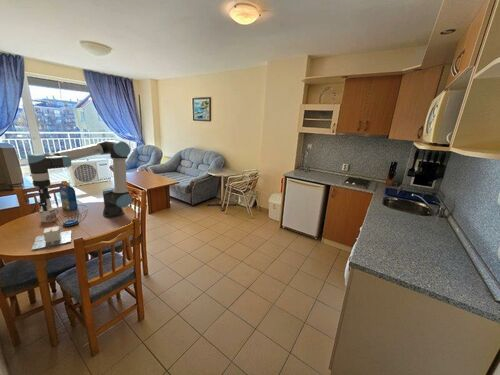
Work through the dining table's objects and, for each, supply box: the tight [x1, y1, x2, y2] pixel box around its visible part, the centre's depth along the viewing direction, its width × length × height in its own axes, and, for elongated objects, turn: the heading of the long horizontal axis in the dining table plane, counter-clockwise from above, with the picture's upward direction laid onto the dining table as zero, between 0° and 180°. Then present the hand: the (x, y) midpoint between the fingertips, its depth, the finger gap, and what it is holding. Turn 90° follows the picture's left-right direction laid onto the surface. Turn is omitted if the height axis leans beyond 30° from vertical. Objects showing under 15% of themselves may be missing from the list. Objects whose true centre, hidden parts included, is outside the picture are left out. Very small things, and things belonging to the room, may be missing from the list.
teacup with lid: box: [38, 207, 59, 223], centre depth 164 cm, size 12×9×12 cm
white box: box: [43, 225, 61, 243], centre depth 137 cm, size 7×7×8 cm
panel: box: [31, 230, 72, 251], centre depth 137 cm, size 18×18×6 cm
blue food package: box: [58, 180, 79, 212], centre depth 185 cm, size 6×12×25 cm, turn 65°
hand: (47, 211), depth 133 cm, fingers open, 13 cm apart
